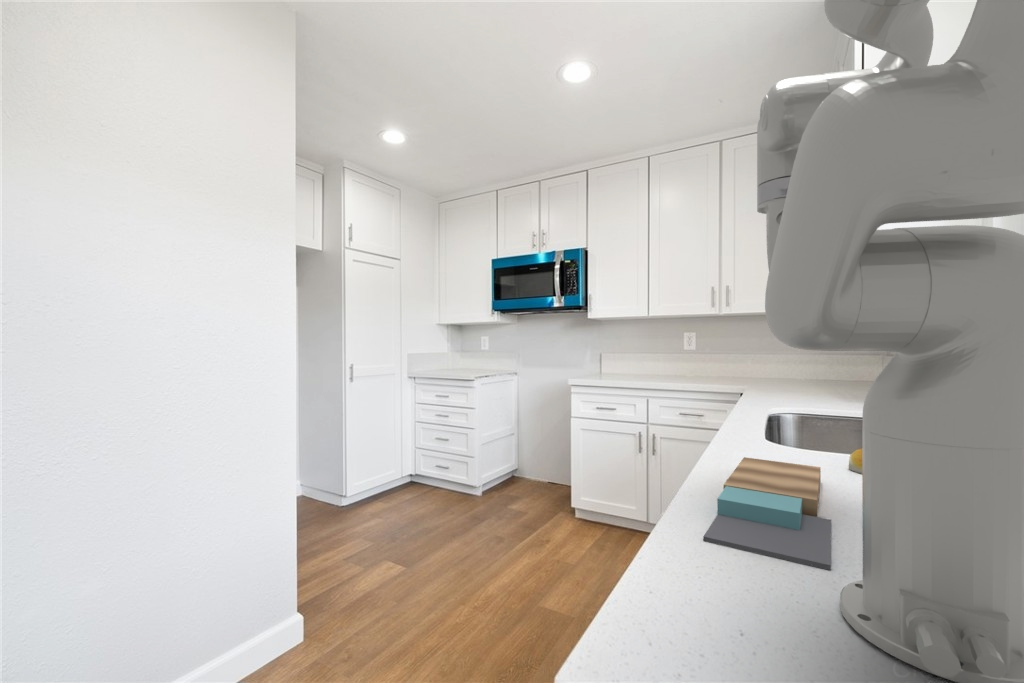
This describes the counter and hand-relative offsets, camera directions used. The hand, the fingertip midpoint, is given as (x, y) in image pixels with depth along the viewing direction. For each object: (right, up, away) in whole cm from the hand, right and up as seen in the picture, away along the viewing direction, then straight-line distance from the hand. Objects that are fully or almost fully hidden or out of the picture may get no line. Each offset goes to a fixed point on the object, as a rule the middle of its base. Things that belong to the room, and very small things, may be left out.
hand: (787, 326), depth 66 cm
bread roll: (+24, -25, +14) cm, 37 cm away
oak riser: (0, -25, +4) cm, 25 cm away
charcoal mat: (-8, -25, -10) cm, 28 cm away
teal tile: (-7, -23, -6) cm, 25 cm away
